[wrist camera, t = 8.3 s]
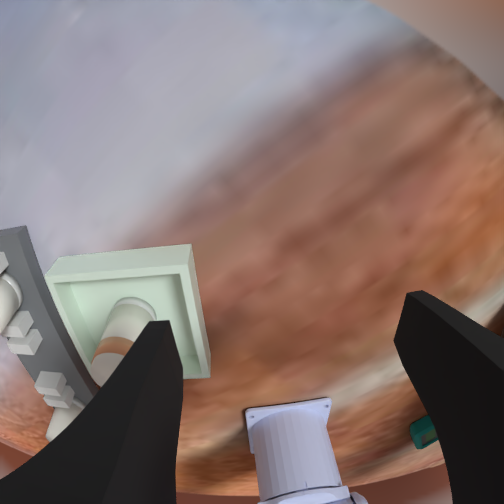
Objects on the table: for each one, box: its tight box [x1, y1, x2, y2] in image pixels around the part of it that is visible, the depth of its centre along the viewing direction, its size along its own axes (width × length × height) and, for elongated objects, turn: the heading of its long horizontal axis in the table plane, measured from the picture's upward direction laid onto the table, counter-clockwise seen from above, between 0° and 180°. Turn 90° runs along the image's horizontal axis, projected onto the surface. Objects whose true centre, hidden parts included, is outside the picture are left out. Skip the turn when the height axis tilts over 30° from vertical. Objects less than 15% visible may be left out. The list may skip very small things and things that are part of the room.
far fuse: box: [46, 397, 86, 442], centre depth 21 cm, size 3×3×4 cm
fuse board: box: [0, 226, 99, 409], centre depth 20 cm, size 21×6×3 cm, turn 3°
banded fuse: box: [90, 297, 157, 387], centre depth 17 cm, size 3×3×6 cm
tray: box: [44, 244, 211, 379], centre depth 19 cm, size 9×9×2 cm
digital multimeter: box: [410, 415, 439, 449], centre depth 32 cm, size 7×15×3 cm, turn 118°
